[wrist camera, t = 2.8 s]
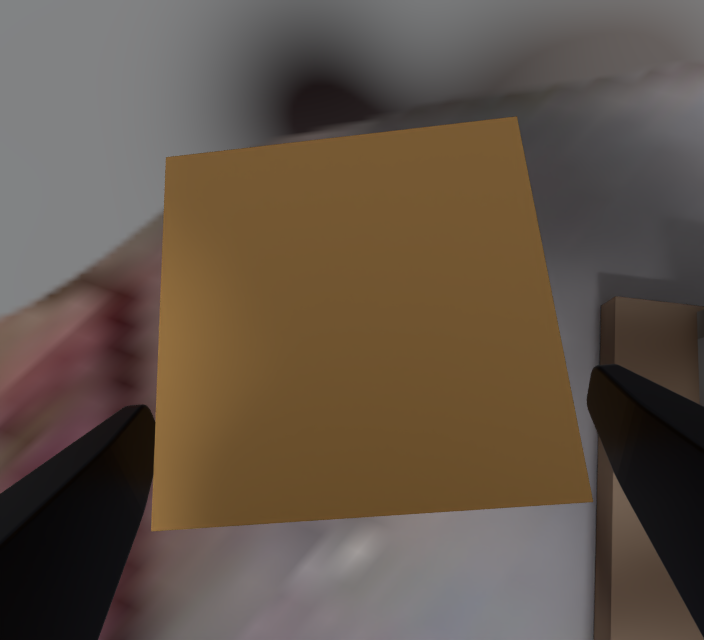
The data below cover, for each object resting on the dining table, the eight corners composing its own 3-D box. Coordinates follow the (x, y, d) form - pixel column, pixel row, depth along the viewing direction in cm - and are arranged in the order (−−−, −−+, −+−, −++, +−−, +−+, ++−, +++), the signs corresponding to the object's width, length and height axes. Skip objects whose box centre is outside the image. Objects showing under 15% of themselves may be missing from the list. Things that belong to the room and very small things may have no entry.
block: (446, 461, 17) (593, 502, 5) (324, 469, 17) (151, 531, 5) (431, 341, 18) (516, 116, 6) (318, 351, 19) (166, 157, 6)
